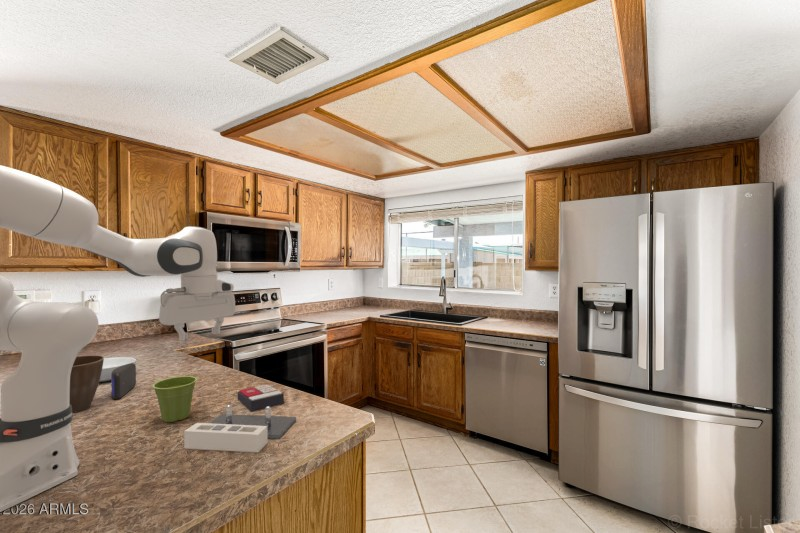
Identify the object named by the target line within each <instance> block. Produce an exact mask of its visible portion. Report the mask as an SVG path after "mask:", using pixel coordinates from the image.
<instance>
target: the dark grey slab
mask: <svg viewBox="0 0 800 533" xmlns="http://www.w3.org/2000/svg"><path fill="white" fill-rule="evenodd" d="M136 372H137V365H136V363H135V364H134V363H130V364H126V365H123V366H120V367H118V368H116V369H115V370H113V371H112V373H111V380H110V381H111V383H110V387H111V397H112V399H114V400H119V399H121V398H122V397H123V396H125V394H127V393H128V392H129V391H131V390H132V389H133V388H135V387H136V385H137V373H136Z"/></svg>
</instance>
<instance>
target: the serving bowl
mask: <svg viewBox="0 0 800 533" xmlns="http://www.w3.org/2000/svg"><path fill="white" fill-rule="evenodd" d="M130 363H134V364H135V365H136V363H137V359H136V358H134V357H130V356H129V357H128V356H123V357H122V356H120V357H119V356H117V357H115V356H114V357H113V356H112V357H104V361H103V367H102V372H101V376H100V380H99V383H105V382H110V381H111V373H112V371H113V370H115V369H116V368H118V367H120V366H123V365H126V364H130Z"/></svg>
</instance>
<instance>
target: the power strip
mask: <svg viewBox="0 0 800 533" xmlns="http://www.w3.org/2000/svg"><path fill="white" fill-rule="evenodd" d="M183 433H184V436H183V437H184V439H183V440H184V442H183V443H184V444H183V445H184V446H183V447H184V449H187V450H190V449H191V450H204V451H220V452H221V451H225V452H226V451H227V452H230V451H231V452H241V453H242V452H244V453H259V452H260V451H261V450H262V449H263V448H264V447H265V446H267V444H268V442H269V441H268V440H269V438H268V434H267V426H256V425H234V424H212V423H209V422H196V423H195V424H193V425H191V426H189V428H187V429H185V430H184V431H183Z"/></svg>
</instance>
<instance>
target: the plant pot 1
mask: <svg viewBox="0 0 800 533" xmlns="http://www.w3.org/2000/svg"><path fill="white" fill-rule="evenodd" d="M104 358H105V357H104V356H102V355H95V354H94V355H81V356H80V355H79V356H78V355H77V357H76V359H75V361H74V364H73V367H72V370H71V375H70V404H71V405H72V414H75V413H79V412H82V411H85V410H88V409H89V408H90V407H91V404H92V403H93V400H94V397H95V394H96V393H97V390H98V387H99V384H100V382H99V380H100V376H101V372H102V367H103V361H104Z"/></svg>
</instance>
